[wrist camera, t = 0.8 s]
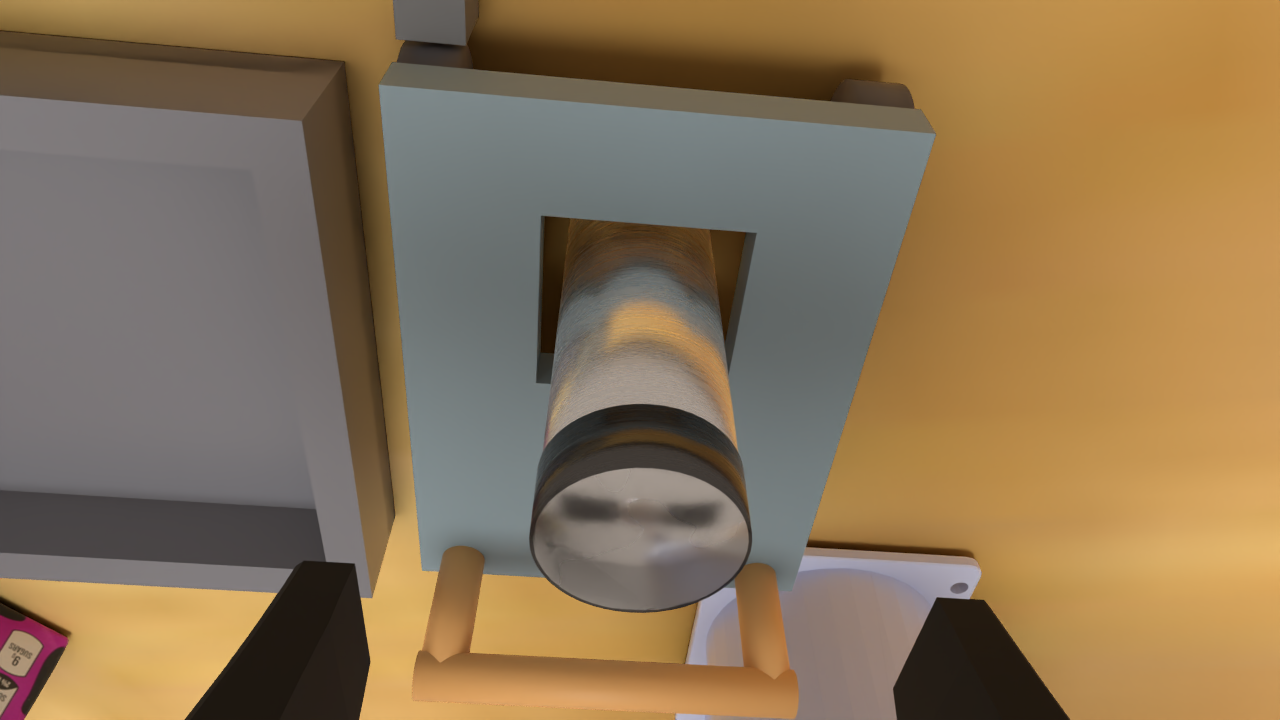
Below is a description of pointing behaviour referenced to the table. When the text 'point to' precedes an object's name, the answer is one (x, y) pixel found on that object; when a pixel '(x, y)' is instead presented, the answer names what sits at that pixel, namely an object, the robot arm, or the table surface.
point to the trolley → (521, 376)
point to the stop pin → (639, 426)
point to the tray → (183, 320)
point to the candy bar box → (25, 661)
